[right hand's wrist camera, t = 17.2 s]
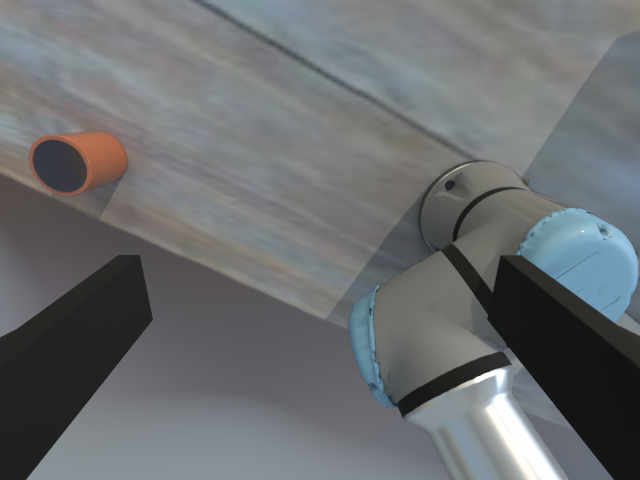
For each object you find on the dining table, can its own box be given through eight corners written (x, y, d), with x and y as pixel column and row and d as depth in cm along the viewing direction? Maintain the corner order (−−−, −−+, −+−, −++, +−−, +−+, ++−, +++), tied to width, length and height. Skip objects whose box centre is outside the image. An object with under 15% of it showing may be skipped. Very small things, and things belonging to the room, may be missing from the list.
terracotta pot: (132, 182, 48) (97, 196, 41) (82, 182, 48) (38, 196, 41) (121, 130, 46) (82, 134, 38) (69, 130, 46) (19, 134, 38)
